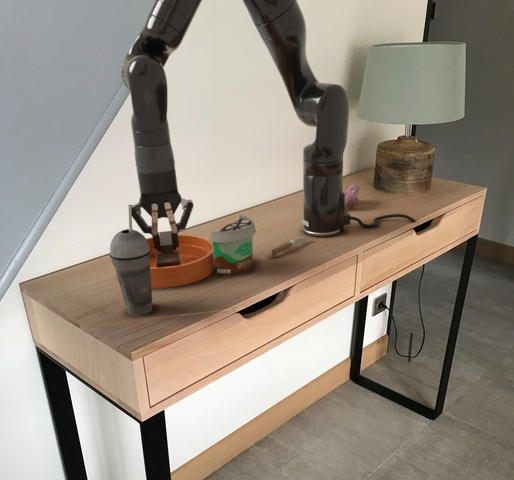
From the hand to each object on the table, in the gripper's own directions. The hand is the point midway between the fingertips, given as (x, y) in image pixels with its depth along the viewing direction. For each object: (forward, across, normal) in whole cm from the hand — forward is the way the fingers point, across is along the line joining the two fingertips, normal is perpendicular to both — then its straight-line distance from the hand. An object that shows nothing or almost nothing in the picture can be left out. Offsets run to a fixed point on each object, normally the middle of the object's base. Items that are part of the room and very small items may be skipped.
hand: (167, 249), depth 123 cm
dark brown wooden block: (+1, 0, -1) cm, 1 cm away
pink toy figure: (+5, +50, +33) cm, 60 cm away
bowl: (+5, 0, 0) cm, 5 cm away
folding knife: (+5, +28, +5) cm, 29 cm away
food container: (+5, +15, -4) cm, 16 cm away
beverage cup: (+5, -6, -19) cm, 21 cm away
